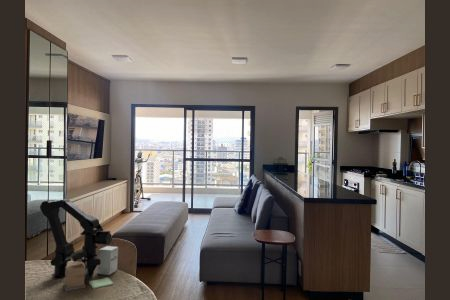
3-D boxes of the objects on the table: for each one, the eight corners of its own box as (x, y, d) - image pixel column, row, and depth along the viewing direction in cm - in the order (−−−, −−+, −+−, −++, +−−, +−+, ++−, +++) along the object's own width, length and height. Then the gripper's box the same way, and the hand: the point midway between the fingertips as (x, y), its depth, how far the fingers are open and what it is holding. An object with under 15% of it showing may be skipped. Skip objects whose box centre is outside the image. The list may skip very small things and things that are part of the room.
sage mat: (88, 282, 142) (88, 281, 142) (107, 278, 148) (107, 277, 148) (93, 288, 135) (93, 287, 135) (113, 284, 141) (113, 283, 141)
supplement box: (109, 275, 152) (110, 250, 153) (97, 273, 154) (98, 249, 155) (117, 270, 160) (118, 246, 160) (105, 269, 161) (106, 245, 162)
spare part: (82, 277, 149) (83, 267, 149) (92, 275, 152) (92, 265, 152) (84, 280, 145) (85, 269, 145) (94, 278, 148) (95, 268, 148)
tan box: (63, 286, 138) (64, 266, 138) (82, 282, 142) (82, 263, 143) (65, 291, 132) (66, 270, 133) (85, 287, 137) (86, 267, 137)
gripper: (69, 241, 152) (67, 272, 151) (76, 250, 137) (74, 285, 136) (92, 239, 159) (90, 268, 158) (101, 247, 144) (100, 279, 143)
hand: (88, 275), depth 148 cm, fingers open, 5 cm apart
